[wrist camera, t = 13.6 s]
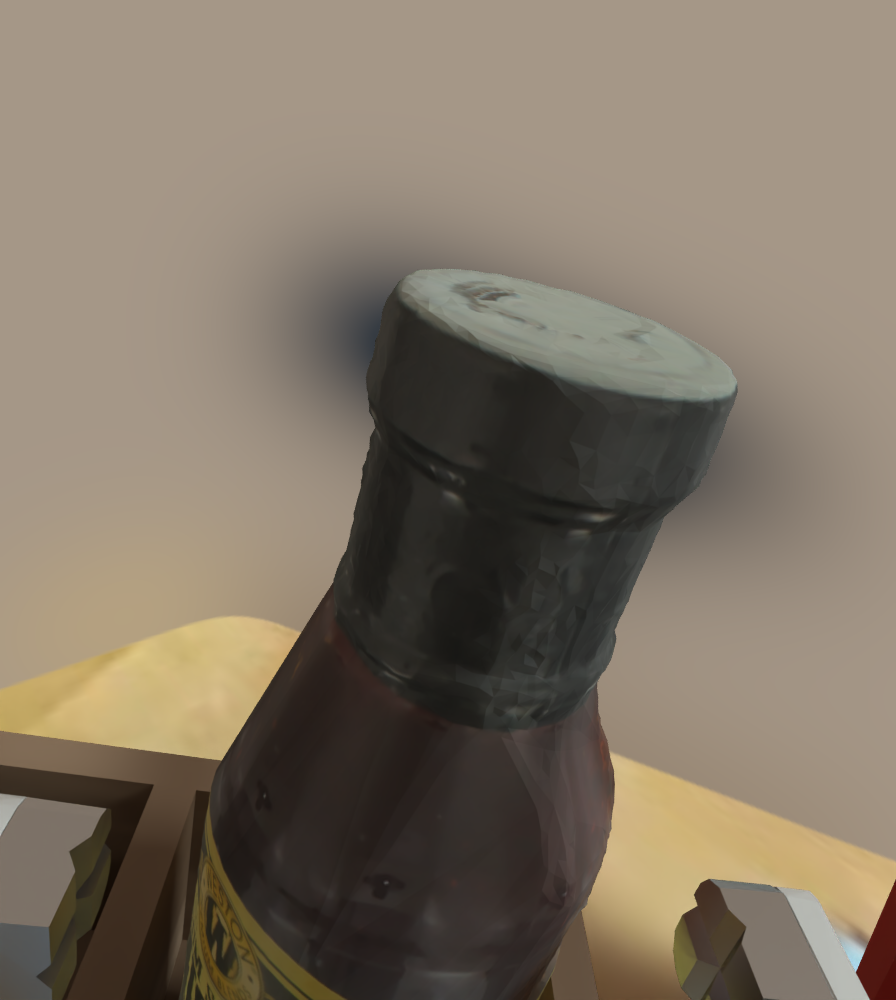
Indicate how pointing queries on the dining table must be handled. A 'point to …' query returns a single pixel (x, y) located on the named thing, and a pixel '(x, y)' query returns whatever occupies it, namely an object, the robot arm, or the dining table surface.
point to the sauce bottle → (456, 658)
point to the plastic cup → (881, 955)
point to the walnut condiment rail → (163, 864)
